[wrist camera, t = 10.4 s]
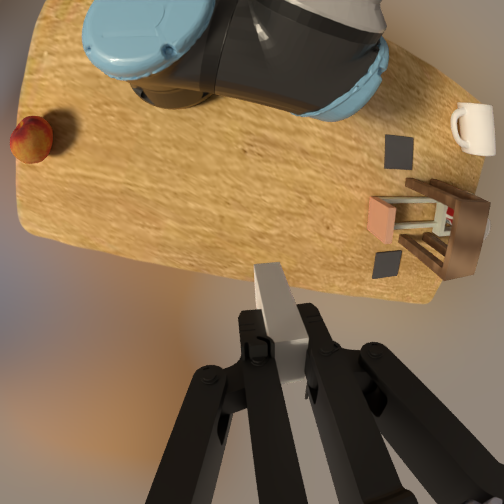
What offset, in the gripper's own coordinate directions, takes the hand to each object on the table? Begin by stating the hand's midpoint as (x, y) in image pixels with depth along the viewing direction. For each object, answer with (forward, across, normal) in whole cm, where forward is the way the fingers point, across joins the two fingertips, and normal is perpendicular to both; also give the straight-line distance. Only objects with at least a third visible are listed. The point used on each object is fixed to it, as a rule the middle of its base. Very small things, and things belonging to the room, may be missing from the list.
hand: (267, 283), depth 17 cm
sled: (+29, +35, -6) cm, 46 cm away
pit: (+29, +28, +5) cm, 41 cm away
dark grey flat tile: (+29, +28, -17) cm, 44 cm away
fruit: (+30, -33, +13) cm, 46 cm away
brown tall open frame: (+29, +34, -6) cm, 45 cm away
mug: (+30, +44, +12) cm, 54 cm away
